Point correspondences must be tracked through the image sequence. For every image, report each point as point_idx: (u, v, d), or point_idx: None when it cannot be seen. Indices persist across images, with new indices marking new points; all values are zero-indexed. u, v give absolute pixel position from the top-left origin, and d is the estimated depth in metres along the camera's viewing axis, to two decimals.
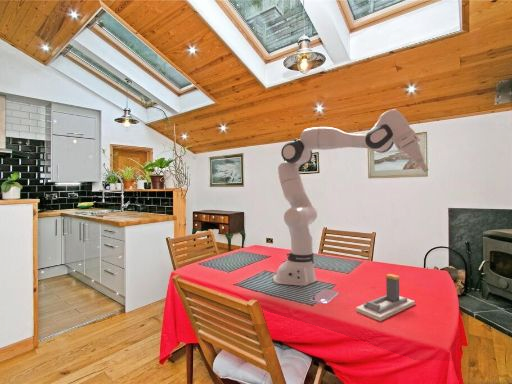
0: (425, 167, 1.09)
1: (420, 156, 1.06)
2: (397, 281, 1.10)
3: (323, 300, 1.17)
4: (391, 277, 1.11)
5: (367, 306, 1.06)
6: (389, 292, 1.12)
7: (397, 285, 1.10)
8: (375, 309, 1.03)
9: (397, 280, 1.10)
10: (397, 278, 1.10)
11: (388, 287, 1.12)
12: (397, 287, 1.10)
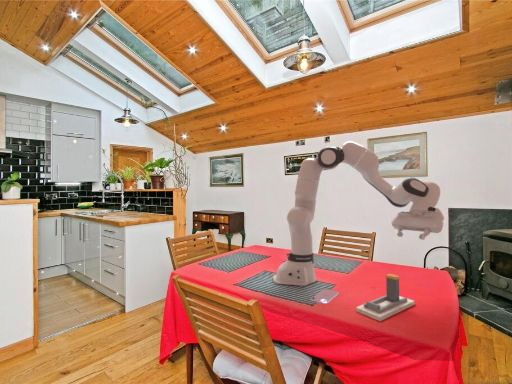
0: (424, 237, 1.15)
1: (439, 231, 1.13)
2: (397, 281, 1.10)
3: (323, 300, 1.17)
4: (391, 277, 1.11)
5: (367, 306, 1.06)
6: (389, 292, 1.12)
7: (397, 285, 1.10)
8: (375, 309, 1.03)
9: (397, 280, 1.10)
10: (397, 278, 1.10)
11: (388, 287, 1.12)
12: (397, 287, 1.10)
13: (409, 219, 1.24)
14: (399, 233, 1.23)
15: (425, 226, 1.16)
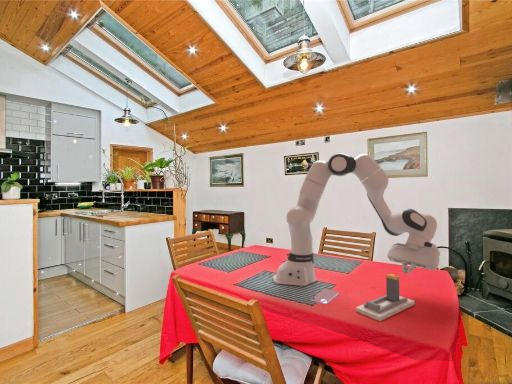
0: (410, 271, 1.17)
1: (435, 268, 1.12)
2: (397, 281, 1.10)
3: (323, 300, 1.17)
4: (391, 277, 1.11)
5: (367, 306, 1.06)
6: (389, 292, 1.12)
7: (397, 285, 1.10)
8: (375, 309, 1.03)
9: (397, 280, 1.10)
10: (397, 278, 1.10)
11: (388, 287, 1.12)
12: (397, 287, 1.10)
13: (405, 253, 1.22)
14: (404, 269, 1.18)
15: (421, 262, 1.14)
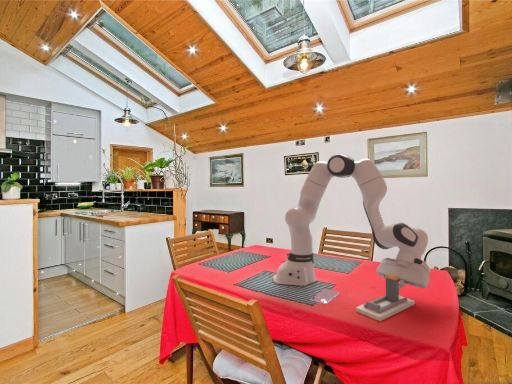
0: (399, 289, 1.12)
1: (425, 287, 1.07)
2: (396, 281, 1.10)
3: (323, 300, 1.17)
4: (390, 277, 1.11)
5: (367, 306, 1.06)
6: (388, 292, 1.12)
7: (396, 285, 1.10)
8: (375, 309, 1.03)
9: (396, 280, 1.10)
10: (396, 278, 1.10)
11: (387, 287, 1.12)
12: (396, 287, 1.10)
13: (394, 269, 1.18)
14: None
15: (410, 280, 1.10)
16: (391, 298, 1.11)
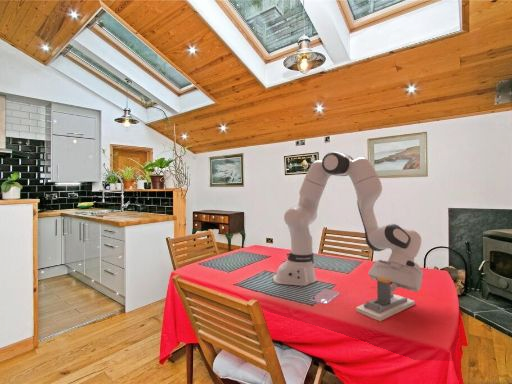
0: (391, 292, 1.09)
1: (417, 290, 1.04)
2: (388, 284, 1.07)
3: (323, 300, 1.17)
4: (382, 280, 1.08)
5: (367, 306, 1.06)
6: (379, 295, 1.09)
7: (388, 288, 1.07)
8: (375, 309, 1.03)
9: (388, 283, 1.07)
10: (388, 281, 1.07)
11: (379, 290, 1.09)
12: (388, 291, 1.07)
13: (387, 271, 1.14)
14: None
15: (402, 283, 1.07)
16: (383, 302, 1.08)
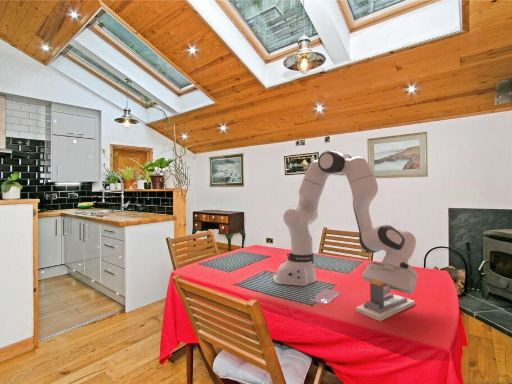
0: (384, 295, 1.06)
1: (411, 293, 1.01)
2: (381, 287, 1.04)
3: (323, 300, 1.17)
4: (375, 283, 1.05)
5: (367, 306, 1.06)
6: (372, 298, 1.06)
7: (381, 291, 1.04)
8: (375, 309, 1.03)
9: (381, 286, 1.04)
10: (381, 284, 1.04)
11: (372, 293, 1.06)
12: (381, 293, 1.04)
13: (380, 273, 1.12)
14: None
15: (396, 285, 1.04)
16: None
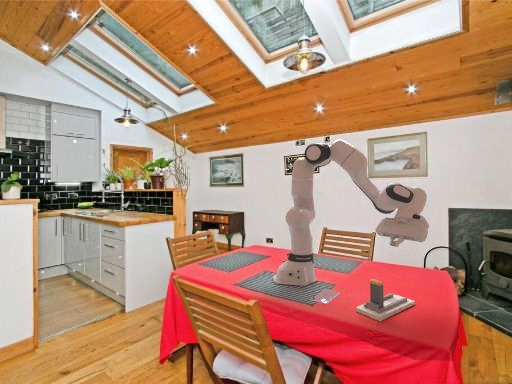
0: (398, 245, 1.14)
1: (423, 240, 1.08)
2: (381, 287, 1.04)
3: (323, 300, 1.17)
4: (375, 283, 1.05)
5: (367, 306, 1.06)
6: (372, 298, 1.06)
7: (381, 291, 1.04)
8: (375, 309, 1.03)
9: (381, 286, 1.04)
10: (381, 284, 1.04)
11: (372, 293, 1.06)
12: (381, 293, 1.04)
13: (393, 226, 1.19)
14: (391, 242, 1.15)
15: (409, 234, 1.11)
16: None
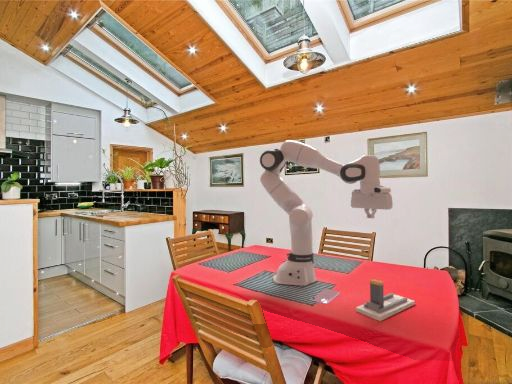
0: (373, 216, 1.31)
1: None
2: (381, 287, 1.04)
3: (323, 300, 1.17)
4: (375, 283, 1.05)
5: (367, 306, 1.06)
6: (372, 298, 1.06)
7: (381, 291, 1.04)
8: (375, 309, 1.03)
9: (381, 286, 1.04)
10: (381, 284, 1.04)
11: (372, 293, 1.06)
12: (381, 293, 1.04)
13: (363, 200, 1.33)
14: (368, 216, 1.32)
15: (378, 208, 1.26)
16: None
